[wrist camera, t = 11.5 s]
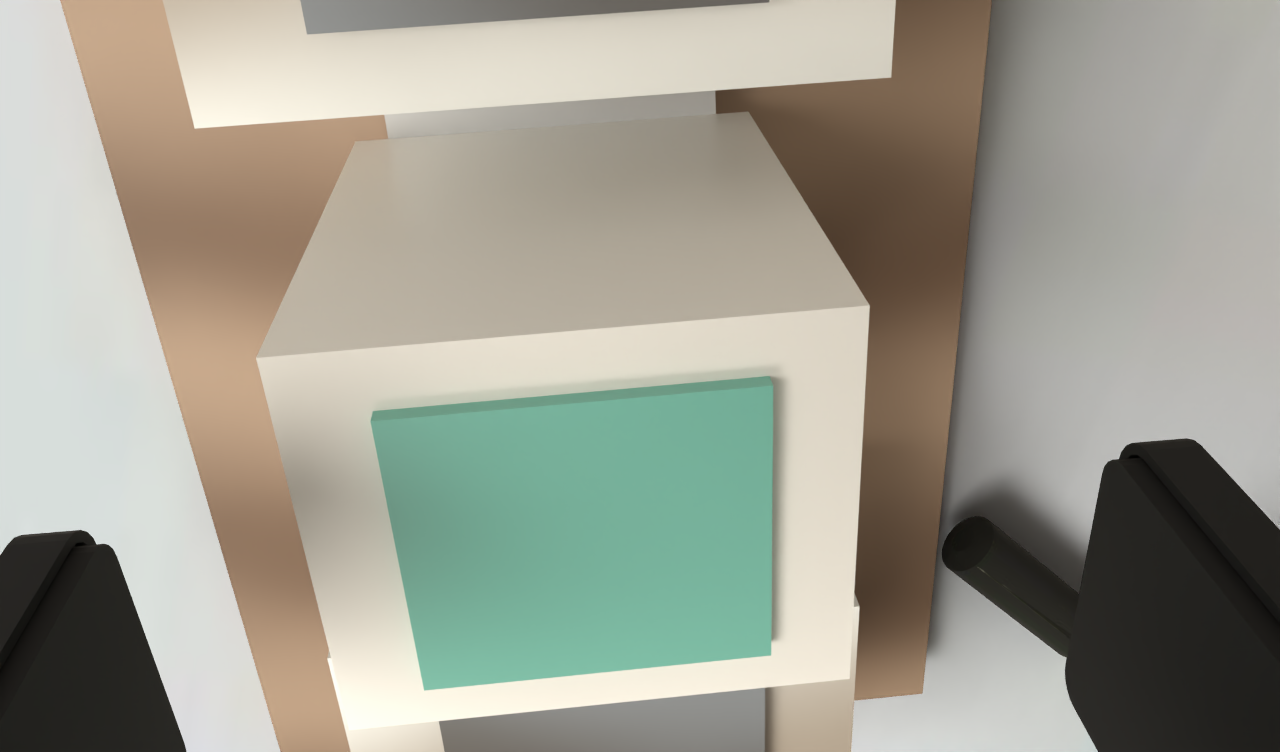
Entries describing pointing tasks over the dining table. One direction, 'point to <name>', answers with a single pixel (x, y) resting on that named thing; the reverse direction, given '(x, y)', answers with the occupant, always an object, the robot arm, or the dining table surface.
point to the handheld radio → (1012, 580)
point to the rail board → (518, 99)
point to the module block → (571, 420)
